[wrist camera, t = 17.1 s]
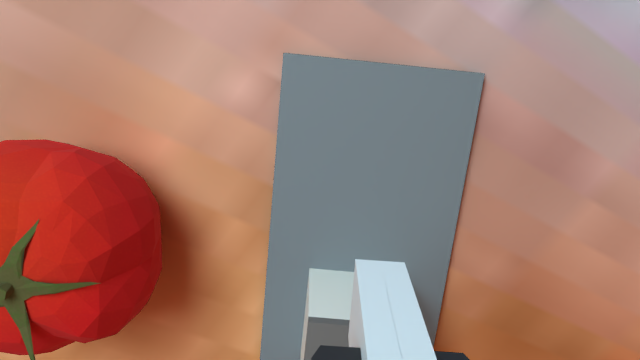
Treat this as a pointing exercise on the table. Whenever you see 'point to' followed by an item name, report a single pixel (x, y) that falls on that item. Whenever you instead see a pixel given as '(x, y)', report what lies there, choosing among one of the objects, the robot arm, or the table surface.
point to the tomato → (72, 245)
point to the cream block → (326, 310)
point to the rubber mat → (364, 180)
